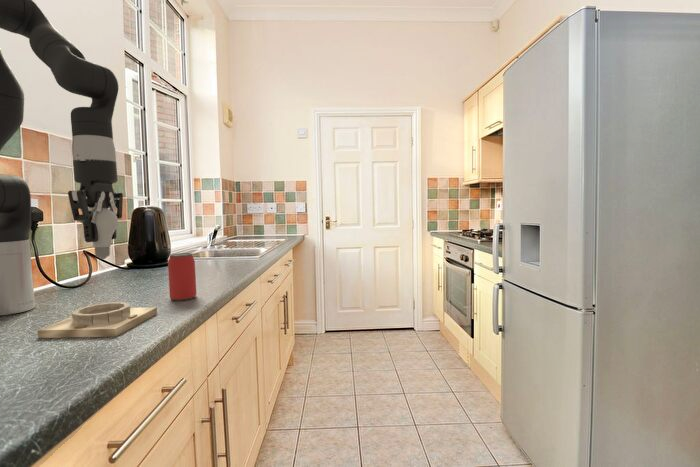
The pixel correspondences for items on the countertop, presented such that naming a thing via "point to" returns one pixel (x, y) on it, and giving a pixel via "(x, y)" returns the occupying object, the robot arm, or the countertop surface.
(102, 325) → the lamp holder
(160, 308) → the countertop surface
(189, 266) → the beer can
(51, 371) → the countertop surface
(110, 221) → the lightbulb
